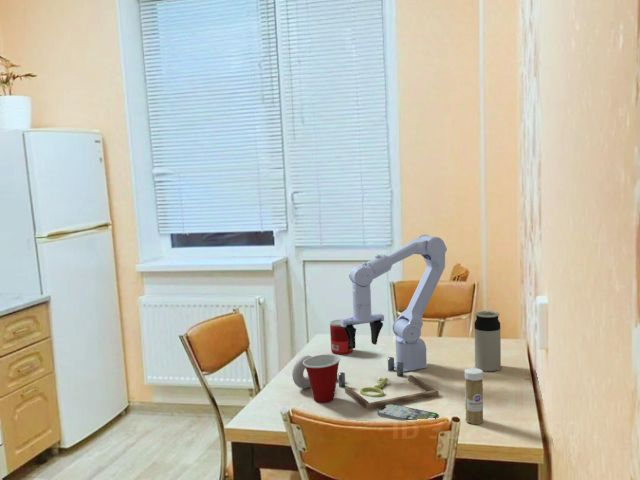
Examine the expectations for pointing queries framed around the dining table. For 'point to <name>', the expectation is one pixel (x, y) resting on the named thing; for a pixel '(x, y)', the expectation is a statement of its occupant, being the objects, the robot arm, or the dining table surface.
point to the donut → (300, 373)
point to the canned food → (339, 339)
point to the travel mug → (487, 341)
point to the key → (375, 389)
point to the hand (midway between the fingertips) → (363, 345)
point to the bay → (399, 400)
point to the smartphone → (404, 413)
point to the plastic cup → (322, 376)
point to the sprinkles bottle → (474, 395)
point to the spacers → (390, 368)
